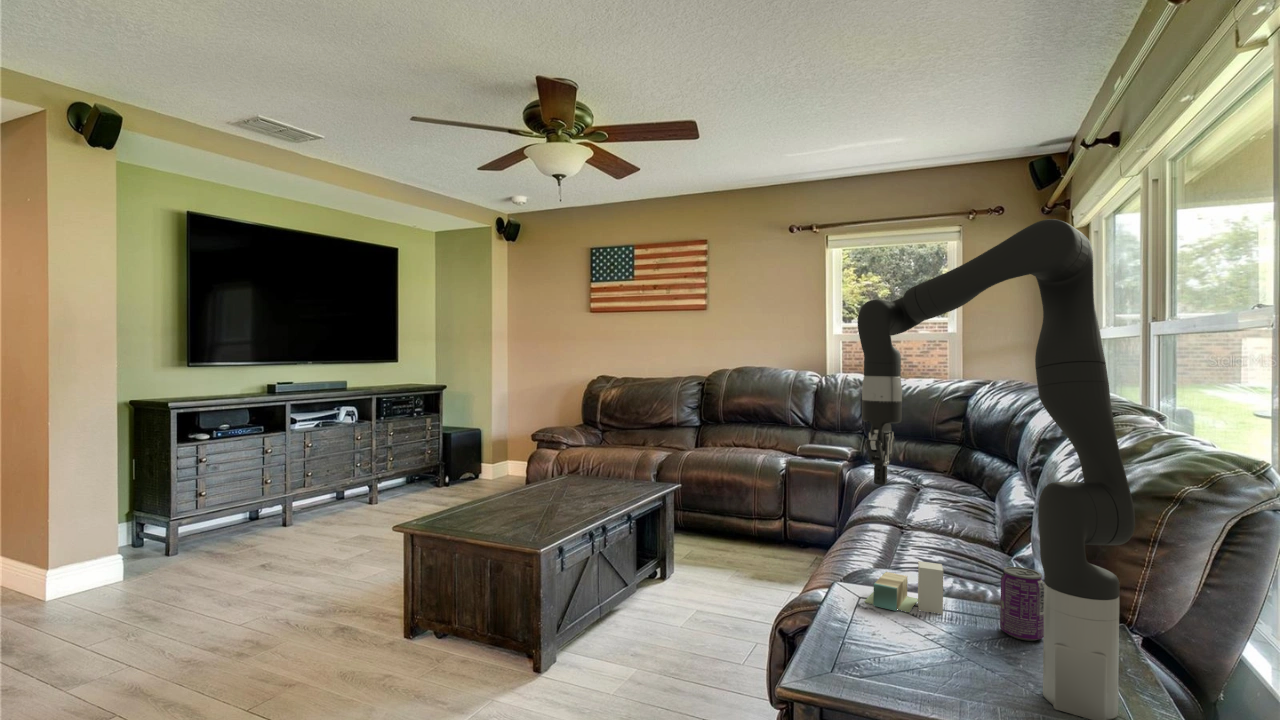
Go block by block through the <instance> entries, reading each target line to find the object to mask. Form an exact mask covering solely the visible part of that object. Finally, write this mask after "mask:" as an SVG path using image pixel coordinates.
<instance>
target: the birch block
mask: <svg viewBox="0 0 1280 720" xmlns="http://www.w3.org/2000/svg"><path fill="white" fill-rule="evenodd" d="M873 592H874V595H873V607H877V608H882V609H886V610H891V611H895V612H896V611H897V609H898V608H899V607H900V605H901V604H902V603H903V601H904V600H905V599H906V598H907V596H908V575H904V574H898V573H894V572H888V571H886V572H885V573H883V574H882V575H881V576H880V577H879V578H878V579H877V580H876V581H875V582H874V583H873Z"/></svg>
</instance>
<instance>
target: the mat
mask: <svg viewBox="0 0 1280 720" xmlns="http://www.w3.org/2000/svg"><path fill="white" fill-rule="evenodd" d="M873 595H874V591H873V592H872V593H871V594H869V596H868V597H867V598H865V600H864V601H863V603H864V602H865V604H868V603H869V605H872V604H873ZM916 604H918V597H912V596H908V595H907V598H906V599H905V600H904V601H903V603H902V604H901V605H900V607H899V608H898V610H902V611H906V612H910V613H911V611H912V610H913V609H912V607H913V606H914V605H915V606H916ZM915 606H914V607H915ZM914 607H913V608H914ZM911 609H912V610H911ZM910 610H911V611H910ZM902 611H901V612H902ZM906 612H905V613H906Z"/></svg>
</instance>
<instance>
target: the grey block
mask: <svg viewBox="0 0 1280 720" xmlns="http://www.w3.org/2000/svg"><path fill="white" fill-rule="evenodd" d="M917 563H918V564H917V565H918V566H917V567H918V569H917V570H918V571H917V572H918V575H917V576H918V577H917V584H918V585H917V599H918V602H917V606H918V608H919V609H918V611H919V610H921V611H920V612H922V611H926V612H925V613H929V612H935V613H941V614H940V615H942V614H944V567H943V564H942V563H935V562H928V561H921V560H920V561H918V562H917ZM935 613H934V614H935Z"/></svg>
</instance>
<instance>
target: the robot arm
mask: <svg viewBox="0 0 1280 720" xmlns="http://www.w3.org/2000/svg"><path fill="white" fill-rule="evenodd" d="M1029 275H1031V276H1032V277H1033V276H1034V278H1036V281H1037V285H1038V288H1039V292H1040V293H1039V294H1040V297H1041V304H1042V324H1041V329H1040V333H1039V337H1038V341H1037V345H1036V349H1035V357H1034V359H1035V360H1034V364H1035V376H1036V382H1037V383H1036V384H1037V392H1038V397H1039V400H1040V402H1041V405H1042V406H1043V407H1044V409H1045V411H1046V412H1047V414H1048V415H1049V416H1050V417H1051V418H1052V420H1053V421H1054V423H1055V424H1056V425H1057V427H1058V428H1059V429H1060V430H1061V431H1062V433H1064V435H1065V436H1066V438H1067V439H1068V440H1069V442H1070V443H1071V445H1072V446H1073V448H1074V450H1075V451H1076V454H1077V457H1078V459H1079V463H1080V467H1081V471H1082V477H1083V481H1054V482H1049V483H1048V484H1046V485H1045V486H1044V487H1043V489H1042V491H1041V493H1040V495H1039V501H1038V508H1037V509H1038V510H1037V511H1038V512H1037V513H1038V533H1039V534H1038V535H1039V555H1040V561H1041V566H1042V568H1043V575H1044V576H1043V578H1044V580H1043V583H1044V637H1043V638H1042V639H1043V645H1042V646H1043V650H1042V651H1043V653H1042V656H1043V657H1042V658H1043V659H1042V664H1043V666H1042V670H1043V671H1042V694H1043V697H1044V698H1045V700H1047V702H1049V704H1052V705H1053V710H1056V711H1061V712H1064V713H1067V714H1071V715H1073V716H1077V717H1078V716H1079V717H1082V718H1084V719H1089V720H1113V719H1116V718H1117V717H1118V715H1119V657H1120V656H1119V650H1120V649H1119V648H1120V647H1119V646H1120V644H1119V643H1120V641H1119V639H1120V581H1119V578H1118V577H1117V575H1116V574H1115V573H1114V572H1112V571H1110V570H1108V569H1106V568H1103V567H1102V566H1098V565H1095V564H1092V563H1090V562H1088V560H1087V556H1086V546H1087V545H1090V546H1120V545H1124V544H1126V543H1127V542H1129V541H1130V539H1131V538H1132V537H1133V536H1134V532H1135V528H1136V517H1135V516H1136V514H1135V506H1134V502H1133V501H1134V500H1133V497H1132V494H1131V489H1130V485H1129V481H1128V478H1127V474H1126V470H1125V466H1124V463H1123V458H1122V455H1121V452H1120V451H1121V450H1120V448H1119V444H1118V437H1117V433H1116V432H1117V431H1116V427H1115V421H1114V416H1113V414H1114V413H1113V409H1112V403H1111V402H1112V401H1111V392H1110V391H1111V390H1110V383H1109V377H1108V370H1107V369H1108V368H1107V362H1106V359H1105V353H1104V347H1103V341H1102V335H1101V330H1100V326H1099V321H1098V317H1097V313H1096V307H1095V294H1094V291H1095V289H1094V287H1095V286H1094V250H1093V246H1092V243H1091V242H1090V240H1089V238H1088V237H1087V236H1086V235H1085V234H1084V233H1083V232H1081V230H1078V229H1077V228H1075V226H1072V225H1071V224H1070V223H1068V222H1065V221H1063V220H1061V219H1054V218H1052V219H1051V218H1050V219H1046V218H1045V219H1044V220H1040V221H1037V222H1034V223H1032V224H1030V225H1029V226H1026V227H1025V228H1023V229H1021V230H1020V231H1017V232H1016V233H1014V234H1012V235H1011V236H1010V237H1008V238H1006V239H1004V240H1003V241H1001V242H1000V243H998V244H996V245H995V246H993V247H992V248H990V249H988V250H986V251H984V252H983V253H981V254H979V255H978V256H976V257H974V258H972V259H971V260H969V261H967V262H965V263H963V264H961V265H960V266H957V267H955V268H953V269H950V270H949V271H946V272H945V273H943V274H939V275H938V276H935V277H932V278H929V279H928V280H926V281H923V282H921V283H919V284H916V285H913V286H912V287H910V288H909V289H907V290H906V291H905V292H904V293H903V296H902V297H900V298H897V299H895V300H891V301H889V300H882V299H871V300H868V301H866V302H865V303H863V305H862V306H861V308H860V309H859V311H858V315H857V321H856V322H857V330H858V331H857V332H858V336H859V340H860V345H861V350H862V352H863V381H862V387H861V388H862V389H861V394H862V395H861V420H862V421H863V422H866V423H871V427H870V430H869V431H868V439H866V441H865V442H866V448H867V452H868V457H869V462H870V464H872V466H873V483H874V485H877V486H878V485H880V486H885V485H887V483H888V466H889V464H890V462H891V461H892V457H893V453H894V452H893V451H894V446H895V442H896V437H895V436H894V433H895V432H894V431H892V424H900V423H901V422H902V419H903V417H902V411H903V408H902V406H903V404H902V402H903V388H902V386H903V385H902V379H901V378H902V377H901V374H902V373H901V371H902V364H901V363H902V359H901V358H902V357H901V352H900V350H899V349H898V348H896V347H895V346H894V345H893V342H892V336H896V335H900V334H903V333H905V332H907V331H909V330H912V329H913V328H914V327H916V326H919V325H920V324H921V323H922V322H924V321H927V320H930V319H934V318H937V317H939V316H941V315H943V314H944V315H945V314H946V313H950V312H952V311H954V310H956V309H959V308H961V307H962V306H965V305H966V304H968V303H969V302H971V301H972V300H973V299H975V298H976V297H977V296H979V294H982V293H983V292H984V291H986V290H988V289H990V288H991V287H993V286H995V285H997V284H1000V283H1003V282H1005V281H1006V282H1007V281H1008V280H1009V281H1010V280H1012V279H1016V278H1020V277H1023V276H1029Z"/></svg>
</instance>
